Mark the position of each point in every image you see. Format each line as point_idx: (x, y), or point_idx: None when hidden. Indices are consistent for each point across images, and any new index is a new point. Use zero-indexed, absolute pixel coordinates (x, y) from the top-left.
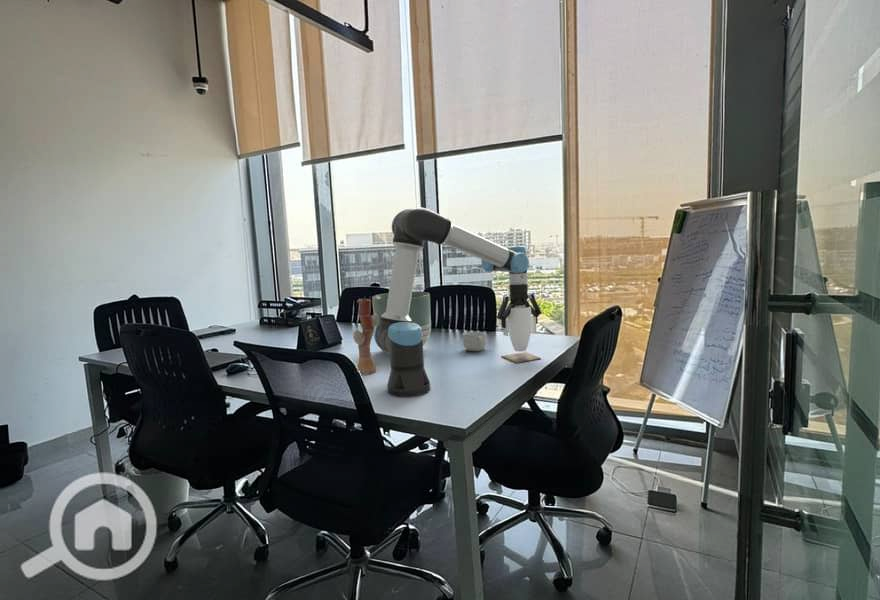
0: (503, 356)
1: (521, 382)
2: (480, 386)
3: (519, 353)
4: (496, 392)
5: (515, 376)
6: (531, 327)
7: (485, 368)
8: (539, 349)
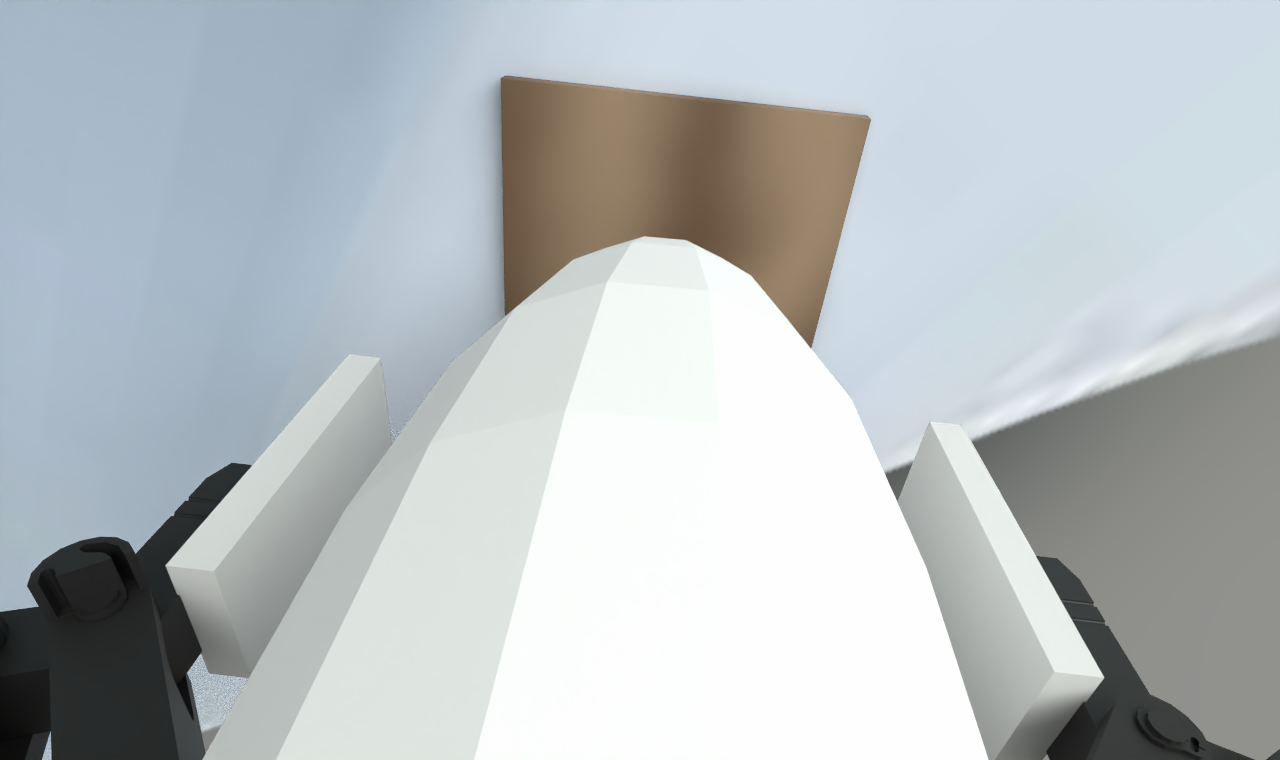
0: (511, 121)
1: None
2: None
3: (762, 127)
4: None
5: None
6: (947, 472)
7: (192, 336)
8: (1187, 50)
